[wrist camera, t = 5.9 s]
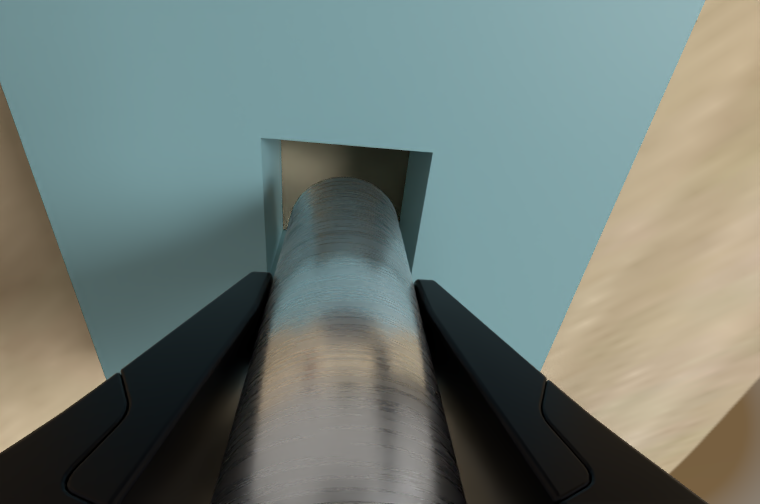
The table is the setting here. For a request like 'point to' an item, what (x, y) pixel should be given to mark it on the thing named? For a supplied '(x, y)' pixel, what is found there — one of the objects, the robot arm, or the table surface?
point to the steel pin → (341, 369)
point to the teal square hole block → (331, 140)
